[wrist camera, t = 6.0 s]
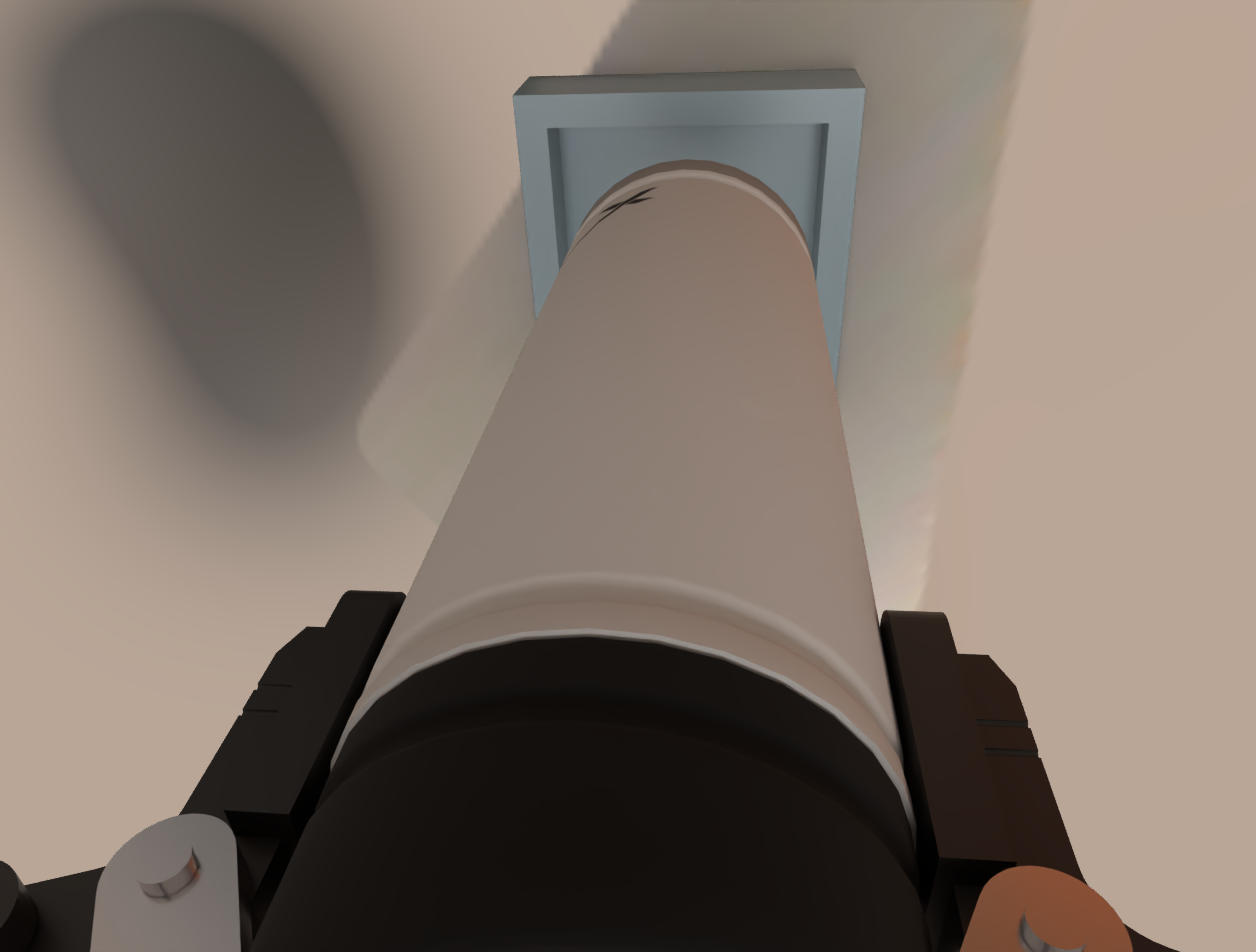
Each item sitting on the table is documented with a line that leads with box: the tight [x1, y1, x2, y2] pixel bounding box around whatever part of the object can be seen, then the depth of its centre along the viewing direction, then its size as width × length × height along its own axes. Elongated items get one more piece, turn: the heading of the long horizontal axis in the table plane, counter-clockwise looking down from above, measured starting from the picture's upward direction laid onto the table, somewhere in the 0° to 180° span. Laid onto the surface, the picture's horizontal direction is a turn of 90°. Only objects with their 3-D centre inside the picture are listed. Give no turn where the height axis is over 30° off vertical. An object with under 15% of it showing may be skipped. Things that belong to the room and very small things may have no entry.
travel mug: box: [249, 159, 933, 952], centre depth 15 cm, size 6×7×20 cm
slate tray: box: [513, 69, 866, 388], centre depth 40 cm, size 16×13×4 cm
